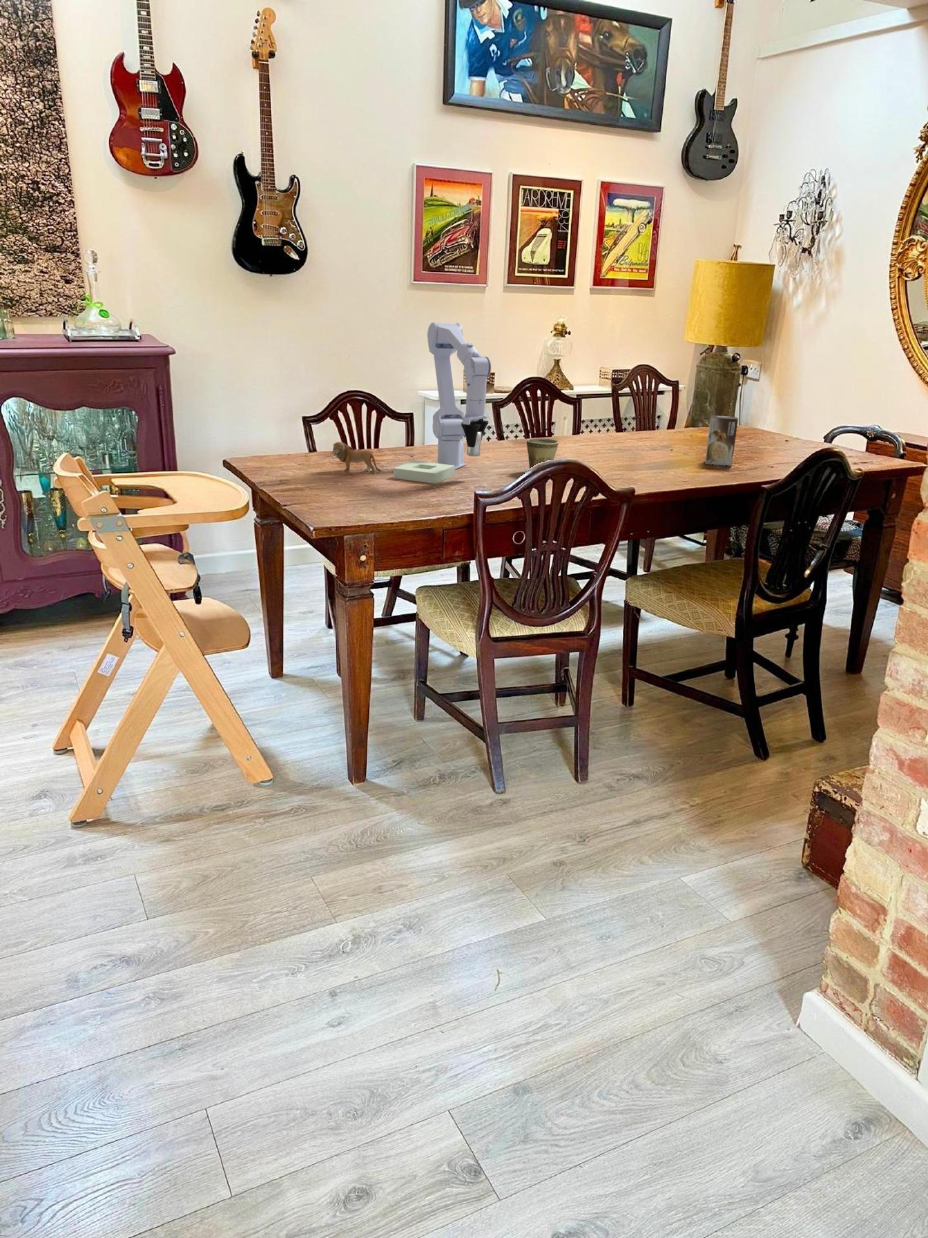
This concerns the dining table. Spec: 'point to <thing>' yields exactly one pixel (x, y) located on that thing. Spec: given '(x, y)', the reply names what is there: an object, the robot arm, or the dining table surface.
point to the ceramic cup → (541, 450)
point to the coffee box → (721, 440)
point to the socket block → (424, 471)
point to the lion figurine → (353, 456)
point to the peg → (477, 449)
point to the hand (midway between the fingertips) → (473, 445)
